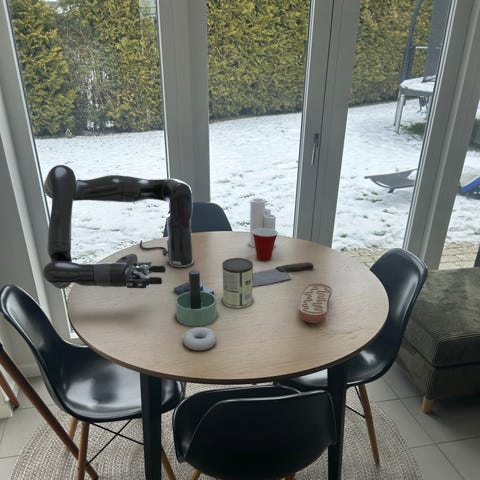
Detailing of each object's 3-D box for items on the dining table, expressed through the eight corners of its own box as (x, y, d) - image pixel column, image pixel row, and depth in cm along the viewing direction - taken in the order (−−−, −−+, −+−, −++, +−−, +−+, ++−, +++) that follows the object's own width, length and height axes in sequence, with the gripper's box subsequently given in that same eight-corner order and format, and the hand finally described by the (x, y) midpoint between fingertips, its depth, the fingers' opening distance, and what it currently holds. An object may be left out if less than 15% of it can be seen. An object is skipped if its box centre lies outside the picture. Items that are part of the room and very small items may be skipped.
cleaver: (307, 264, 191) (307, 259, 190) (320, 273, 184) (321, 268, 183) (241, 278, 180) (241, 273, 179) (253, 288, 173) (253, 283, 172)
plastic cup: (280, 256, 199) (282, 228, 193) (271, 265, 191) (272, 237, 185) (257, 251, 203) (258, 224, 197) (247, 260, 194) (247, 232, 188)
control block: (174, 292, 169) (173, 283, 168) (192, 284, 175) (191, 276, 173) (195, 303, 162) (195, 294, 160) (214, 295, 167) (213, 286, 166)
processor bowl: (168, 316, 154) (167, 299, 151) (198, 303, 162) (197, 287, 159) (194, 330, 146) (193, 314, 143) (224, 316, 154) (224, 300, 151)
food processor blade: (179, 317, 152) (176, 274, 145) (191, 306, 158) (189, 265, 151) (201, 322, 149) (199, 279, 142) (212, 311, 156) (211, 269, 148)
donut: (215, 334, 145) (183, 334, 144) (215, 324, 143) (182, 325, 142) (217, 352, 136) (182, 353, 136) (217, 342, 135) (182, 343, 134)
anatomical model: (324, 330, 147) (325, 316, 145) (292, 325, 149) (293, 311, 147) (332, 297, 166) (333, 285, 164) (304, 294, 168) (305, 281, 166)
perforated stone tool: (131, 264, 191) (129, 248, 187) (143, 265, 190) (141, 249, 186) (112, 279, 178) (110, 262, 175) (125, 281, 177) (123, 263, 174)
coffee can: (228, 292, 169) (228, 255, 162) (256, 297, 166) (257, 259, 159) (218, 305, 161) (217, 267, 154) (246, 310, 158) (247, 271, 151)
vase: (248, 246, 208) (248, 201, 198) (251, 240, 214) (252, 197, 204) (273, 248, 206) (275, 203, 196) (276, 243, 212) (278, 198, 202)
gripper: (117, 276, 155) (167, 276, 155) (107, 296, 142) (161, 295, 143) (114, 254, 151) (165, 254, 151) (104, 273, 139) (159, 273, 139)
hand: (163, 274), depth 147 cm, fingers open, 8 cm apart
